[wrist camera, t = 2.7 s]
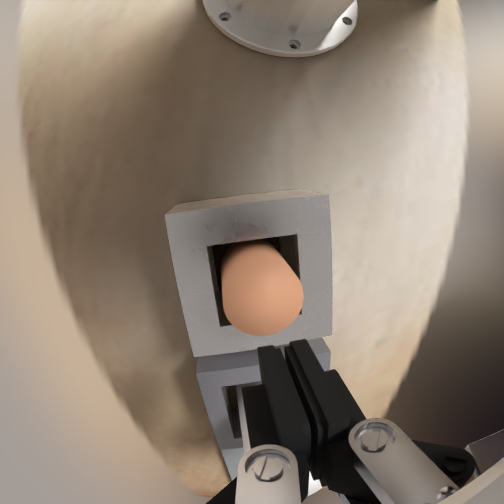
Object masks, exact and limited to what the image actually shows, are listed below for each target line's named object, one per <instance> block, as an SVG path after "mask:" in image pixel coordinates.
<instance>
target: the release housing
mask: <svg viewBox="0 0 504 504" xmlns="http://www.w3.org/2000/svg"><path fill="white" fill-rule="evenodd" d="M164 216H165V222H166V228H167V234H168V240H169V246H170V251H171V256H172V262H173V267H174V272H175V277H176V282H177V287H178V292H179V296H180V301H181V305H182V310H183V314H184V319H185V323H186V327H187V331H188V335H189V340H190V344H191V348H192V351H193V355H194V357H201V356H209V355H218V354H226V353H233V352H240V351H247V350H254V349H257V347H262V346H268V345H274V346H278V345H284V344H289V343H290V341H295V340H301V339H306V340H310V339H315V338H320V337H325V336H329V335H332V247H331V223H330V206H329V195H328V194H323V193H319V192H314V191H310V190H305V189H293V190H283V191H274V192H264V193H256V194H247V195H239V196H231V197H223V198H216V199H208V200H201V201H194V202H187V203H181V204H177V205H176V206H175V207H173V208H172V209H171V210H170V211H169V212H167V213H166V214H165V215H164ZM278 236H279V240H280V252H281V256H282V257H283V259H284V260H285V261H286V262H287V264H288V265H289V266H290V268H291V269H292V270H293V272H294V273H295V274H296V276H297V277H298V279H299V280H300V282H301V285H302V288H303V294H304V299H303V305H302V308H301V311H300V313H299V315H298V316H297V318H296V319H295V320H294V321H293V322H292V323H291V324H290V325H289V326H288V327H287V328H285V329H284V330H282V331H280V332H278V333H275V334H272V335H267V336H254V335H249V334H246V333H244V332H242V331H240V330H238V329H237V328H235V327H234V326H233V325H232V324H231V323H230V321H229V320H228V318H227V317H226V314H225V312H224V308H223V296H222V291H219V289H218V283H217V277H216V270H215V264H214V257H213V251H212V245H218V244H225V243H233V242H240V241H248V240H255V239H263V238H270V237H278Z"/></svg>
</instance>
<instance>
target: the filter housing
mask: <svg viewBox="0 0 504 504" xmlns="http://www.w3.org/2000/svg"><path fill="white" fill-rule="evenodd" d="M307 341H308V343H309V345H310V347H311V348H312V350H313V352H314V354H315V356H316V357H317V359H318V361H319V363H320V365H321V366H322V368H323V370H324V371H329V370H330V350H329V348H328V346H327V345H326V343H325V341H324V340H323V338H322V337H320V338H315V339H310V340H307ZM286 346H289V344H284V345H278V346H274V348H280V349H281V351H282V354H283V356H284V359H285V353H284V347H286ZM196 377H197V380H198V384H199V387H200V391H201V394H202V397H203V401H204V404H205V407H206V410H207V414H208V417H209V420H210V423H211V426H212V429H213V432H214V435H215V438H216V441H217V444H218V447H219V450H225V449H234V448H243V439H242V432H241V424H240V417H239V409H238V408H237V409H231V406H230V402H229V397H228V393H227V388H226V386H231V385H238V384H245V383H252V382H259V381H261V375H260V367H259V360H258V352H257V349H254V350H247V351H240V352H233V353H226V354H218V355H209V356H201V357H197V359H196Z"/></svg>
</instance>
